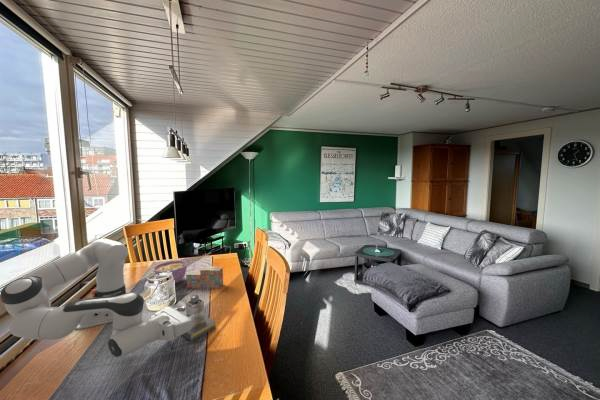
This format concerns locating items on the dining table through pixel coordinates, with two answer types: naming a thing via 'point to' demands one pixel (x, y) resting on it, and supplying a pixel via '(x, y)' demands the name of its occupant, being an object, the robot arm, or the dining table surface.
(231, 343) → the dining table surface
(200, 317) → the small grey lidded jar
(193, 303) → the metal canister
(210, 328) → the block
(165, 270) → the bowl of food
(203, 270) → the stack of blocks
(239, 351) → the dining table surface
